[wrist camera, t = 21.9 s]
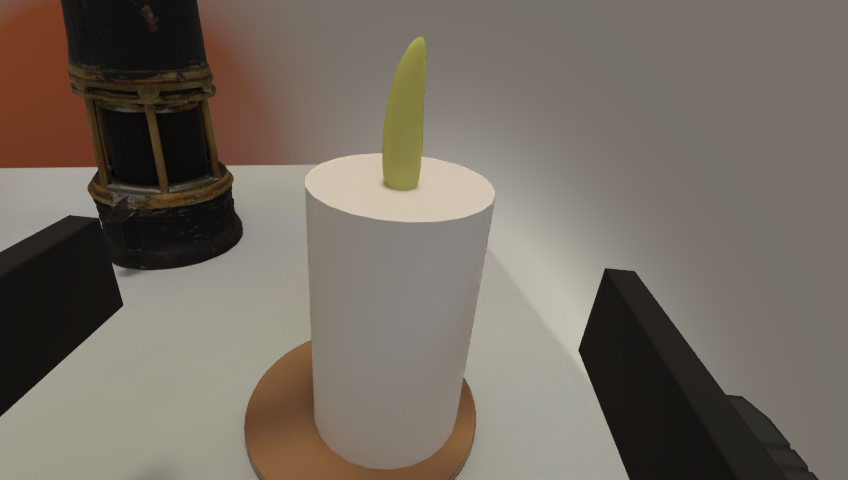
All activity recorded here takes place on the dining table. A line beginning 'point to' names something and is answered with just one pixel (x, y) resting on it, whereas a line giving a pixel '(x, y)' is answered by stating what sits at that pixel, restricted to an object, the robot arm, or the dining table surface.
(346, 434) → the candle
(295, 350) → the coaster
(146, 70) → the lantern
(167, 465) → the dining table surface
